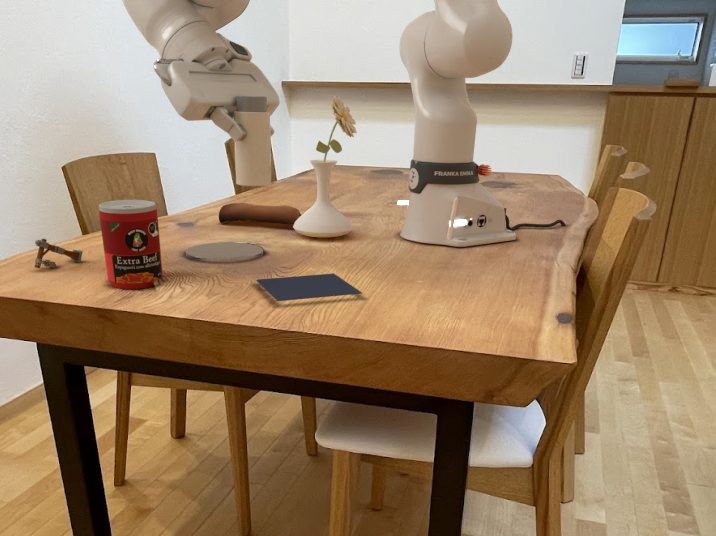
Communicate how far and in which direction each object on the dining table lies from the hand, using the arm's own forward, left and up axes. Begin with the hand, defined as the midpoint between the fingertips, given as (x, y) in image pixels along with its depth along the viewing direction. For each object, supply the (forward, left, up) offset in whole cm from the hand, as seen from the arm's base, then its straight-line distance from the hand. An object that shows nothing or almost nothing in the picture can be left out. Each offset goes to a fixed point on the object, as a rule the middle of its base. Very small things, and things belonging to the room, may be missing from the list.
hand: (256, 137), depth 95 cm
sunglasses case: (-11, -36, -20) cm, 42 cm away
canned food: (+19, +2, -20) cm, 27 cm away
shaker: (0, -1, -7) cm, 7 cm away
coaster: (+3, -12, -19) cm, 23 cm away
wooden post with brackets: (+29, -11, -20) cm, 37 cm away
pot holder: (-3, +14, -19) cm, 24 cm away
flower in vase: (-19, -22, -20) cm, 35 cm away
